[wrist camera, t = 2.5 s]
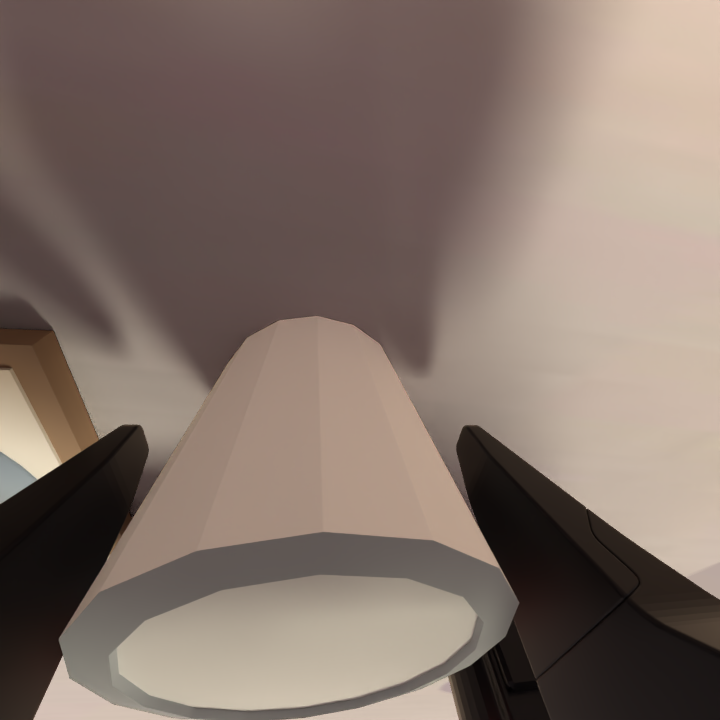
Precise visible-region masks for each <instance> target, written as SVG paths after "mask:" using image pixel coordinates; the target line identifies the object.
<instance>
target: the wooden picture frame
mask: <svg viewBox="0 0 720 720" xmlns="http://www.w3.org/2000/svg"><path fill="white" fill-rule="evenodd" d="M98 440H99V439H98V437H97V434H96V432H95V430H94V427H93V425H92V422H91V420H90V418H89V415H88V413H87V410H86V408H85V406H84V403H83V401H82V399H81V396H80V394H79V391H78V389H77V387H76V384H75V382H74V379H73V377H72V375H71V372H70V370H69V367H68V365H67V363H66V360H65V358H64V355H63V353H62V351H61V348H60V346H59V343H58V341H57V339H56V336H55V334H54V332H53V331H48V330H23V329H0V504H1V503H2V502H4V501H5V500H7V499H9V498H10V497H12V496H13V495H15V494H16V493H18V492H19V491H21V490H22V489H24V488H26V487H27V486H29V485H30V484H32V483H33V482H35V481H36V480H38V479H39V478H41V477H43V476H44V475H46V474H47V473H49V472H50V471H52V470H53V469H55V468H56V467H58V466H60V465H61V464H63V463H64V462H66V461H67V460H69V459H70V458H72V457H73V456H75V455H77V454H78V453H80V452H81V451H83V450H84V449H86V448H87V447H89V446H90V445H92V444H93V443H95V442H97V441H98ZM131 520H132V518H131V516H130V513H129V512H128V515H127V517H126V519H125V522H124V524H123V526H122V528H121V530H120V532H119V535H118V537H117V539H116V541H115V543H114V545H113V548H112V550H111V552H110V554H111V553H112V551H113V550H114V548H115V546H116V545H117V543H118V541H119V540H120V538H121V537H122V535H123V533H124V532H125V530H126V528H127V527H128V525H129V523H130V522H131ZM110 554H109V556H110ZM109 556H108V558H109ZM108 558H107V559H108Z"/></svg>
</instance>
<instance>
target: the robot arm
mask: <svg viewBox="0 0 720 720" xmlns="http://www.w3.org/2000/svg"><path fill="white" fill-rule="evenodd" d="M456 450H457V455H458V459H459V463H460V467H461V471H462V475H463V479H464V483H465V486H466V490H467V494H468V497H469V501H470V504H471V506H472V509H473V512H474V514H475V517H476V520H477V523H478V525H479V528H480V531H481V532H482V534H483V536H484V538H485V540H486V542H487V544H488V545H489V547H490V549H491V551H492V553H493V555H494V557H495V559H496V560H497V562H498V564H499V566H500V568H501V570H502V572H503V573H504V575H505V577H506V579H507V581H508V583H509V585H510V587H511V588H512V590H513V592H514V594H515V596H516V598H517V600H518V601H519V605H518V607H517V610H516V612H515V615H514V617H513V620H512V622H511V624H510V627H509V629H508V632H507V634H506V637H504V638H503V639H502V640H501V641H500V642H498V643H497V644H496V645H495V646H493V647H492V648H491V649H490V650H489V651H487V652H486V653H485V654H484V655H482V656H481V657H480V658H479V659H478V660H476V661H475V662H474V663H473V664H471V665H470V666H468V667H466V668H464V669H462V670H460V671H458V672H456V673H454V674H452V675H450V676H448V678H449V682H450V686H451V690H452V694H453V698H454V702H455V706H456V710H457V714H458V718H459V720H720V600H719V599H718V598H716V597H714V596H713V595H711V594H710V593H708V592H706V591H705V590H703V589H702V588H700V587H699V586H697V585H696V584H694V583H693V582H692V581H690V580H689V579H687V578H686V577H684V576H683V575H681V574H680V573H678V572H677V571H675V570H674V569H672V568H671V567H669V566H668V565H666V564H665V563H663V562H662V561H660V560H659V559H657V558H656V557H654V556H653V555H652V554H650V553H649V552H647V551H646V550H644V549H643V548H641V547H640V546H638V545H637V544H636V543H634V542H633V541H631V540H630V539H628V538H627V537H625V536H624V535H623V534H621V533H620V532H618V531H617V530H616V529H614V528H613V527H612V526H610V525H609V524H608V523H606V522H605V521H604V520H602V519H601V518H600V517H598V516H597V515H596V514H594V513H593V512H592V511H590V510H589V509H586V507H585V506H584V505H582V504H581V503H580V502H578V501H577V500H576V499H574V498H573V497H572V496H570V495H569V494H568V493H566V492H565V491H564V490H562V489H561V488H560V487H559V486H557V485H556V484H555V483H553V482H552V481H551V480H549V479H548V478H547V477H545V476H544V475H543V474H541V473H540V472H539V471H537V470H536V469H535V468H533V467H532V466H531V465H529V464H528V463H527V462H526V461H524V460H523V459H522V458H520V457H519V456H518V455H516V454H515V453H514V452H512V451H511V450H510V449H508V448H507V447H506V446H504V445H503V444H502V443H500V442H499V441H498V440H497V439H495V438H494V437H493V436H491V435H490V434H489V433H487V432H486V431H485V430H483V429H482V428H481V427H479V426H477V425H466V426H464V427H463V429H462V431H461V434H460V437H459V440H458V442H457V446H456ZM148 452H149V448H148V444H147V441H146V437H145V434H144V431H143V428H142V427H141V426H140V425H122V426H120V427H118V428H117V429H115V430H114V431H112V432H110V433H109V434H107V435H106V436H104V437H103V438H101V439H100V440H98V441H97V442H95V443H93V444H92V445H90V446H89V447H87V448H86V449H84V450H83V451H81V452H80V453H78V454H77V455H75V456H73V457H72V458H70V459H69V460H67V461H66V462H64V463H63V464H61V465H60V466H58V467H56V468H55V469H53V470H52V471H50V472H49V473H47V474H46V475H44V476H43V477H41V478H39V479H38V480H36V481H35V482H33V483H32V484H30V485H29V486H27V487H26V488H24V489H22V490H21V491H19V492H18V493H16V494H15V495H13V496H12V497H10V498H9V499H7V500H5V501H4V502H2V503H1V504H0V720H33V719H34V717H35V714H36V712H37V710H38V708H39V706H40V704H41V701H42V699H43V697H44V695H45V693H46V691H47V688H48V686H49V684H50V682H51V680H52V678H53V675H54V673H55V671H56V669H57V667H58V665H59V662H60V660H61V658H62V656H63V653H62V650H61V646H60V643H59V638H60V636H61V634H62V633H63V631H64V629H65V628H66V626H67V625H68V623H69V621H70V620H71V618H72V616H73V615H74V613H75V611H76V610H77V608H78V607H79V605H80V603H81V602H82V600H83V598H84V597H85V595H86V594H87V592H88V590H89V589H90V587H91V585H92V584H93V582H94V581H95V579H96V577H97V576H98V574H99V572H100V571H101V569H102V567H103V566H104V564H105V563H106V561H107V558H108V556H109V554H110V552H111V550H112V548H113V545H114V543H115V541H116V539H117V537H118V535H119V532H120V530H121V528H122V526H123V524H124V522H125V519H126V517H127V515H128V512H129V510H130V507H131V505H132V502H133V499H134V496H135V493H136V490H137V487H138V484H139V481H140V478H141V475H142V472H143V469H144V466H145V463H146V460H147V457H148Z"/></svg>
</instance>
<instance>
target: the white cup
mask: <svg viewBox="0 0 720 720" xmlns="http://www.w3.org/2000/svg"><path fill="white" fill-rule="evenodd" d="M518 605H519V601H518V600H517V598H516V596H515V594H514V592H513V590H512V588H511V587H510V585H509V583H508V581H507V579H506V577H505V575H504V573H503V572H502V570H501V568H500V566H499V564H498V562H497V560H496V559H495V557H494V555H493V553H492V551H491V549H490V547H489V545H488V544H487V542H486V540H485V538H484V536H483V534H482V532H481V531H480V529H479V527H478V525H477V523H476V521H475V519H474V518H473V516H472V514H471V512H470V510H469V508H468V506H467V504H466V503H465V501H464V499H463V497H462V495H461V493H460V491H459V490H458V488H457V486H456V484H455V482H454V480H453V478H452V476H451V475H450V473H449V471H448V469H447V467H446V465H445V463H444V462H443V460H442V458H441V456H440V454H439V452H438V450H437V448H436V447H435V445H434V443H433V441H432V439H431V437H430V435H429V434H428V432H427V430H426V428H425V426H424V424H423V422H422V420H421V419H420V417H419V415H418V413H417V411H416V409H415V407H414V406H413V404H412V402H411V400H410V398H409V396H408V394H407V393H406V391H405V389H404V387H403V385H402V383H401V381H400V379H399V378H398V376H397V374H396V372H395V370H394V368H393V366H392V365H391V363H390V361H389V359H388V357H387V356H386V354H385V352H384V350H383V348H382V347H381V345H380V344H379V343H378V342H376V341H375V340H374V339H372V338H371V337H370V336H368V335H367V334H365V333H364V332H363V331H361V330H360V329H358V328H357V327H356V326H354V325H352V324H348V323H344V322H340V321H336V320H332V319H328V318H324V317H320V316H312V317H303V318H294V319H286V320H279V321H277V322H275V323H273V324H271V325H269V326H268V327H266V328H264V329H262V330H260V331H258V332H256V333H254V334H253V335H251V336H249V337H247V338H246V340H245V341H244V342H243V344H242V345H241V346H240V348H239V349H238V350H237V352H236V353H235V354H234V356H233V357H232V358H231V360H230V361H229V362H228V364H227V365H226V367H225V369H224V370H223V372H222V373H221V375H220V377H219V378H218V380H217V382H216V383H215V385H214V387H213V388H212V390H211V391H210V393H209V395H208V396H207V398H206V400H205V401H204V403H203V404H202V406H201V408H200V409H199V411H198V413H197V414H196V416H195V418H194V419H193V421H192V422H191V424H190V426H189V427H188V429H187V431H186V432H185V434H184V435H183V437H182V439H181V440H180V442H179V444H178V445H177V447H176V448H175V450H174V452H173V453H172V455H171V457H170V458H169V460H168V462H167V463H166V465H165V466H164V468H163V470H162V471H161V473H160V475H159V476H158V478H157V479H156V481H155V483H154V484H153V486H152V488H151V489H150V491H149V492H148V494H147V496H146V497H145V499H144V501H143V502H142V504H141V506H140V507H139V509H138V510H137V512H136V514H135V515H134V517H133V519H132V520H131V522H130V523H129V525H128V527H127V528H126V530H125V532H124V533H123V535H122V537H121V538H120V540H119V541H118V543H117V545H116V546H115V548H114V550H113V551H112V553H111V554H110V556H109V558H108V559H107V561H106V563H105V564H104V566H103V567H102V569H101V571H100V572H99V574H98V576H97V577H96V579H95V581H94V582H93V584H92V585H91V587H90V589H89V590H88V592H87V594H86V595H85V597H84V598H83V600H82V602H81V603H80V605H79V607H78V608H77V610H76V611H75V613H74V615H73V616H72V618H71V620H70V621H69V623H68V625H67V626H66V628H65V629H64V631H63V633H62V634H61V636H60V638H59V643H60V646H61V650H62V653H63V657H64V660H65V664H66V667H67V671H68V674H69V678H70V679H72V680H73V681H75V682H77V683H78V684H80V685H82V686H83V687H85V688H87V689H88V690H90V691H92V692H94V693H95V694H97V695H99V696H100V697H102V698H104V699H105V700H107V701H109V702H110V703H112V704H114V705H118V706H123V707H127V708H131V709H136V710H140V711H144V712H149V713H153V714H157V715H162V716H166V717H170V718H180V719H197V720H280V719H294V718H306V717H311V716H317V715H322V714H328V713H333V712H339V711H344V710H350V709H356V708H360V707H364V706H367V705H370V704H374V703H377V702H380V701H384V700H387V699H390V698H393V697H397V696H400V695H403V694H407V693H410V692H413V691H416V690H420V689H422V688H424V687H427V686H429V685H431V684H433V683H435V682H437V681H439V680H441V679H443V678H445V677H447V676H450V675H452V674H454V673H456V672H458V671H460V670H462V669H464V668H466V667H468V666H470V665H471V664H473V663H474V662H475V661H476V660H478V659H479V658H480V657H481V656H482V655H484V654H485V653H486V652H487V651H489V650H490V649H491V648H492V647H493V646H495V645H496V644H497V643H498V642H500V641H501V640H502V639H503V638H504V637H506V634H507V632H508V629H509V627H510V624H511V622H512V620H513V617H514V615H515V612H516V610H517V607H518Z"/></svg>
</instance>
